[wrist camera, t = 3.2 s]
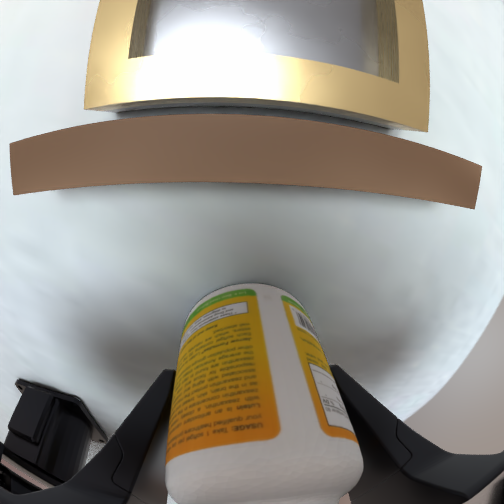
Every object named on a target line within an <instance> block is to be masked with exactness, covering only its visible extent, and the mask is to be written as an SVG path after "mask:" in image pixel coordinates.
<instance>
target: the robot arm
mask: <svg viewBox="0 0 504 504" xmlns="http://www.w3.org/2000/svg"><path fill="white" fill-rule="evenodd" d="M329 368H330V370H331V373H332V375H333V377H334V380H335V383H336V386H337V389H338V391H339V394H340V396H341V399H342V401H343V404H344V406H345V409H346V412H347V414H348V417H349V419H350V422H351V425H352V427H353V430H354V433H355V436H356V438H357V441H358V444H359V447H360V451H361V455H362V458H363V472H362V475H361V477H360V479H359V481H358V483H357V484H356V485H355V486H354V487H353V488H352V489H351V490H350V491H349V492H348V493H349V497H350V501H351V504H504V450H503V451H502V452H501V453H498V454H493V455H465V454H453V453H449V452H447V451H445V450H443V449H441V448H439V447H438V446H436V445H435V444H433V443H431V442H430V441H428V440H427V439H425V438H424V437H422V436H421V435H419V434H418V433H416V432H415V431H414V430H412V429H411V428H410V427H408V426H407V425H406V424H405V423H403V422H402V421H401V420H400V419H397V417H396V416H395V415H394V414H393V413H392V412H390V411H389V410H388V409H387V408H386V407H385V406H383V405H382V404H381V403H380V402H379V401H378V400H377V399H375V398H374V397H373V396H372V395H371V394H370V393H368V392H367V391H366V390H365V389H364V388H363V387H362V386H361V385H359V384H358V383H357V382H356V381H355V380H354V379H353V378H351V377H350V376H349V375H348V374H347V373H346V372H345V371H344V370H342V369H341V368H340V367H339V366H338V365H329ZM175 376H176V371H175V370H171V369H165V370H163V372H162V373H161V374H160V375H159V377H158V378H157V379H156V381H155V382H154V383H153V384H152V386H151V387H150V388H149V390H148V391H147V392H146V393H145V395H144V396H143V397H142V399H141V400H140V401H139V402H138V404H137V405H136V406H135V408H134V409H133V410H132V411H131V413H130V414H129V415H128V417H127V418H126V419H125V420H124V422H123V423H122V424H121V426H120V427H119V428H118V429H117V431H116V432H115V435H113V436H112V437H111V438H110V440H109V441H108V438H107V437H106V435H105V434H104V433H103V432H102V430H101V429H100V428H99V426H98V425H97V424H96V422H95V421H94V420H93V418H92V417H91V416H90V414H89V413H88V411H87V410H86V408H85V407H84V405H83V404H82V403H81V401H80V400H78V399H77V398H74V397H71V396H68V395H64V394H60V393H57V392H54V391H50V390H47V389H44V388H41V387H38V386H35V385H32V384H29V383H27V382H24V381H21V380H17V381H16V383H15V385H16V387H17V388H18V389H19V391H20V392H21V393H22V396H21V398H20V400H19V402H18V404H17V406H16V408H15V411H14V413H13V415H12V417H11V420H10V422H9V424H8V429H9V432H8V435H7V437H6V440H5V443H4V444H3V443H2V442H0V462H1V458H2V459H4V460H5V461H7V462H8V463H9V464H11V465H12V466H14V467H15V468H17V469H18V470H20V471H21V472H23V473H25V474H26V475H28V476H29V477H31V478H33V479H34V480H36V481H38V482H39V483H41V484H43V485H45V486H47V487H49V488H48V489H44V490H43V489H41V488H39V487H38V486H36V485H34V484H32V483H31V482H29V481H27V480H26V479H24V478H23V477H21V476H19V475H18V474H16V473H15V472H13V471H11V470H10V469H9V468H7V467H6V466H4V465H3V464H2V463H0V504H167V496H168V491H167V488H166V484H165V461H166V449H167V437H168V428H169V420H170V419H169V418H170V410H171V404H172V397H173V390H174V383H175ZM91 440H93V441H96V442H100V443H105V446H104V447H103V448H102V449H101V450H100V451H99V452H98V453H97V454H96V455H95V457H94V458H93V459H92V460H90V461H89V462H88V463H87V464H86V465H85V463H86V459H87V455H88V451H89V447H90V443H91Z"/></svg>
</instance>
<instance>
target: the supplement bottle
mask: <svg viewBox="0 0 504 504" xmlns="http://www.w3.org/2000/svg"><path fill="white" fill-rule="evenodd" d="M169 419H170V420H169V428H168V437H167V449H166V461H165V484H166V488H167V491H168V493H169V494H170V496H171V497H172V499H173V500H174V501H175V502H176V503H178V504H339V499H340V498H341V497H342V496H344V495H345V494H347V493H348V492H349V491H350V490H351V489H352V488H353V487H354V486H355V485H356V484H357V483H358V481H359V479H360V477H361V475H362V472H363V458H362V455H361V451H360V447H359V444H358V441H357V438H356V436H355V433H354V430H353V427H352V425H351V422H350V419H349V417H348V414H347V412H346V409H345V406H344V404H343V401H342V399H341V396H340V394H339V391H338V389H337V386H336V383H335V380H334V377H333V375H332V373H331V370H330V368H329V365H328V362H327V360H326V357H325V355H324V352H323V350H322V347H321V345H320V342H319V340H318V337H317V335H316V332H315V330H314V327H313V325H312V322H311V320H310V318H309V316H308V314H307V312H306V310H305V309H304V307H303V306H302V304H301V303H300V302H299V301H298V300H297V299H296V298H295V297H293V296H292V295H291V294H289V293H288V292H286V291H284V290H282V289H279V288H277V287H274V286H270V285H265V284H256V283H246V284H237V285H232V286H228V287H224V288H221V289H219V290H216V291H214V292H212V293H210V294H209V295H207V296H205V297H204V298H203V299H201V300H200V301H199V302H198V303H197V304H196V305H195V306H194V307H193V309H192V310H191V311H190V313H189V315H188V317H187V319H186V321H185V325H184V328H183V332H182V337H181V343H180V349H179V357H178V363H177V370H176V376H175V383H174V390H173V397H172V404H171V410H170V418H169Z"/></svg>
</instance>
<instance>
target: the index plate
mask: <svg viewBox="0 0 504 504" xmlns="http://www.w3.org/2000/svg"><path fill="white" fill-rule="evenodd" d="M429 98H430V73H429V51H428V39H427V29H426V21H425V14H424V8H423V2H422V0H100V2H99V6H98V10H97V14H96V19H95V23H94V28H93V33H92V39H91V45H90V51H89V58H88V66H87V74H86V85H85V99H84V110H96V111H106V112H114V113H116V112H123V111H131V110H141V109H151V108H165V107H184V106H238V107H257V108H271V109H282V110H291V111H300V112H307V113H314V114H321V115H327V116H333V117H339V118H344V119H350V120H354V121H359V122H364V123H368V124H373V125H377V126H381V127H385V128H389V129H399V130H411V131H420V132H428V121H429Z"/></svg>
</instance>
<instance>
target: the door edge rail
mask: <svg viewBox="0 0 504 504" xmlns="http://www.w3.org/2000/svg"><path fill="white" fill-rule="evenodd" d="M10 164H11V177H12V187H13V195H20V194H26V193H33V192H41V191H49V190H58V189H67V188H77V187H88V186H101V185H116V184H134V183H162V182H236V183H264V184H284V185H299V186H313V187H325V188H336V189H346V190H355V191H364V192H372V193H380V194H388V195H395V196H402V197H409V198H415V199H421V200H427V201H433V202H439V203H444V204H450V205H455V206H460V207H465V208H470V209H475V204H476V200H477V195H478V189H479V183H480V177H481V171H482V166H480V165H478V164H476V163H473V162H471V161H468V160H466V159H463V158H460V157H458V156H455V155H452V154H449V153H447V152H444V151H441V150H438V149H435V148H432V147H428V146H425V145H422V144H419V143H415V142H412V141H408V140H405V139H401V138H397V137H393V136H389V135H385V134H381V133H377V132H372V131H368V130H363V129H358V128H353V127H348V126H343V125H337V124H331V123H324V122H318V121H311V120H303V119H294V118H285V117H274V116H261V115H243V114H177V115H160V116H147V117H136V118H127V119H119V120H111V121H104V122H98V123H92V124H86V125H81V126H76V127H71V128H66V129H61V130H57V131H53V132H49V133H45V134H41V135H37V136H33V137H30V138H26V139H23V140H20V141H16V142H13V143H10Z"/></svg>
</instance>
